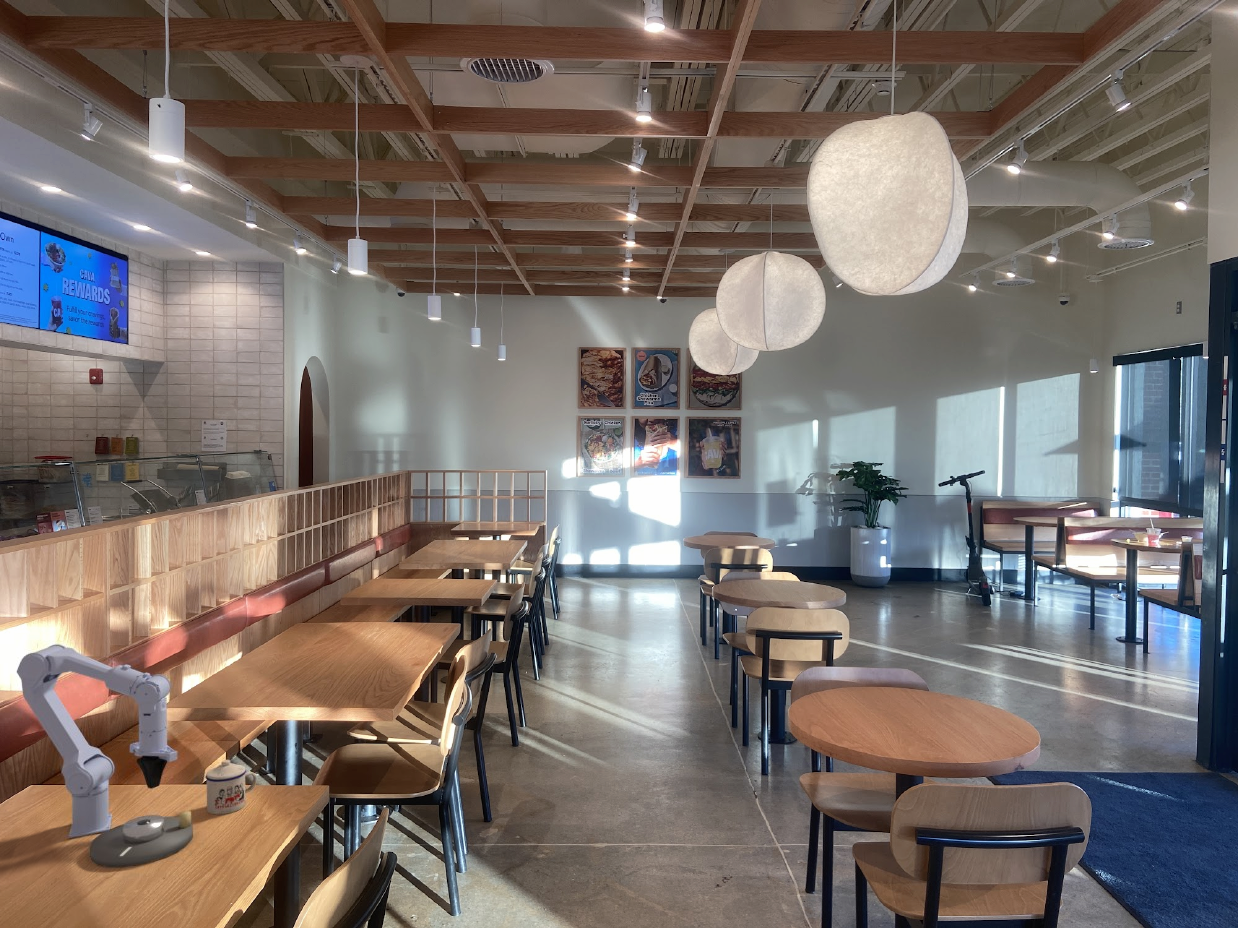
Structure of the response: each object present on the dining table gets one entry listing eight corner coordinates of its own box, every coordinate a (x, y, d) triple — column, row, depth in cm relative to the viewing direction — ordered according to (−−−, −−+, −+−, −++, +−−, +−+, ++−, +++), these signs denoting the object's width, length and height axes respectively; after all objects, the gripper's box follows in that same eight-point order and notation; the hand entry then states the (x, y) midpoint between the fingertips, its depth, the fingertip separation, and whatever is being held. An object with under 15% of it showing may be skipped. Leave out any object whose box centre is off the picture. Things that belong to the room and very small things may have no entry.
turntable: (118, 826, 195) (118, 805, 195) (207, 823, 197) (207, 802, 197) (69, 868, 175) (69, 845, 175) (168, 864, 177) (168, 841, 177)
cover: (134, 828, 190) (134, 814, 190) (170, 827, 190) (170, 813, 190) (115, 844, 182) (115, 830, 182) (153, 843, 182) (153, 829, 182)
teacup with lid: (213, 818, 200) (213, 770, 200) (200, 807, 206) (200, 760, 206) (264, 804, 208) (263, 757, 208) (249, 793, 215) (249, 748, 215)
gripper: (116, 729, 195) (117, 787, 195) (156, 738, 189) (157, 798, 189) (145, 720, 202) (146, 776, 202) (185, 729, 195) (185, 787, 195)
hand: (153, 786), depth 196 cm, fingers closed
